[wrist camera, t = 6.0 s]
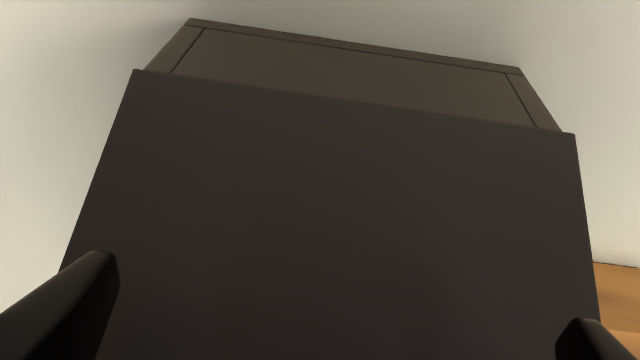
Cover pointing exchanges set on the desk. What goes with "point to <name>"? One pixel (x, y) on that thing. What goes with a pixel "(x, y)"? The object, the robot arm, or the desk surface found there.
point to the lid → (331, 229)
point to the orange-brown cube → (620, 303)
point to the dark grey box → (353, 72)
